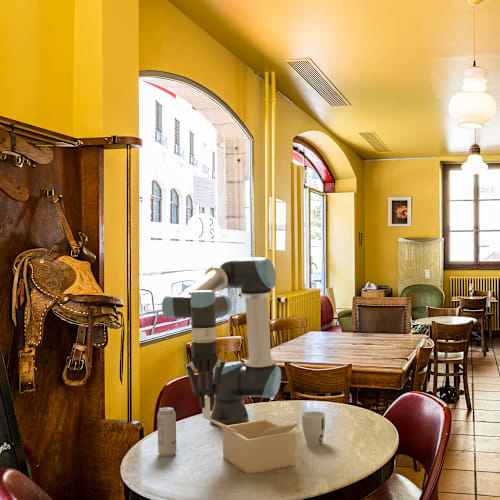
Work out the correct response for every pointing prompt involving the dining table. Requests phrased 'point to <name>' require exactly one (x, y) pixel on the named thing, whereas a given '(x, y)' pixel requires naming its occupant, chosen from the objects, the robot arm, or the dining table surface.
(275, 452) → the carton
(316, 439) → the cup
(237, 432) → the side flap
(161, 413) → the energy drink can
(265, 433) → the front flap
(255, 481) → the dining table surface
